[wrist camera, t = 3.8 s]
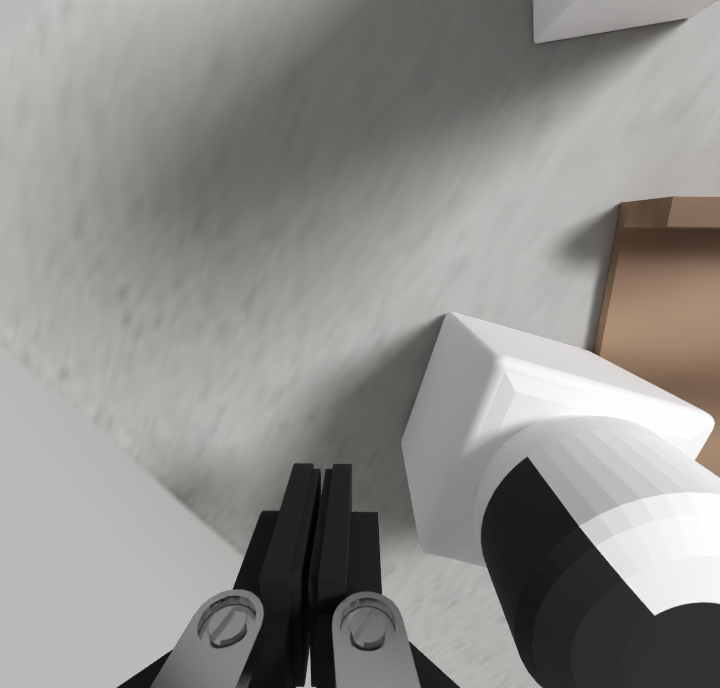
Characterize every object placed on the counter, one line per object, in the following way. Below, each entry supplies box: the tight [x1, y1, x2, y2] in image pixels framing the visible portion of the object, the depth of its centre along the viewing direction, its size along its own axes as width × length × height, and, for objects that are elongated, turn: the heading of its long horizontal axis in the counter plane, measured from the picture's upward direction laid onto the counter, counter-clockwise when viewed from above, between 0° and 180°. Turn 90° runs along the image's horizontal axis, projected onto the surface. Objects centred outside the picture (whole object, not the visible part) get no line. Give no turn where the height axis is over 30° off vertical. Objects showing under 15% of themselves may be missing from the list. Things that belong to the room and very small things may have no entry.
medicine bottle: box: [401, 312, 720, 688], centre depth 13 cm, size 7×7×12 cm
